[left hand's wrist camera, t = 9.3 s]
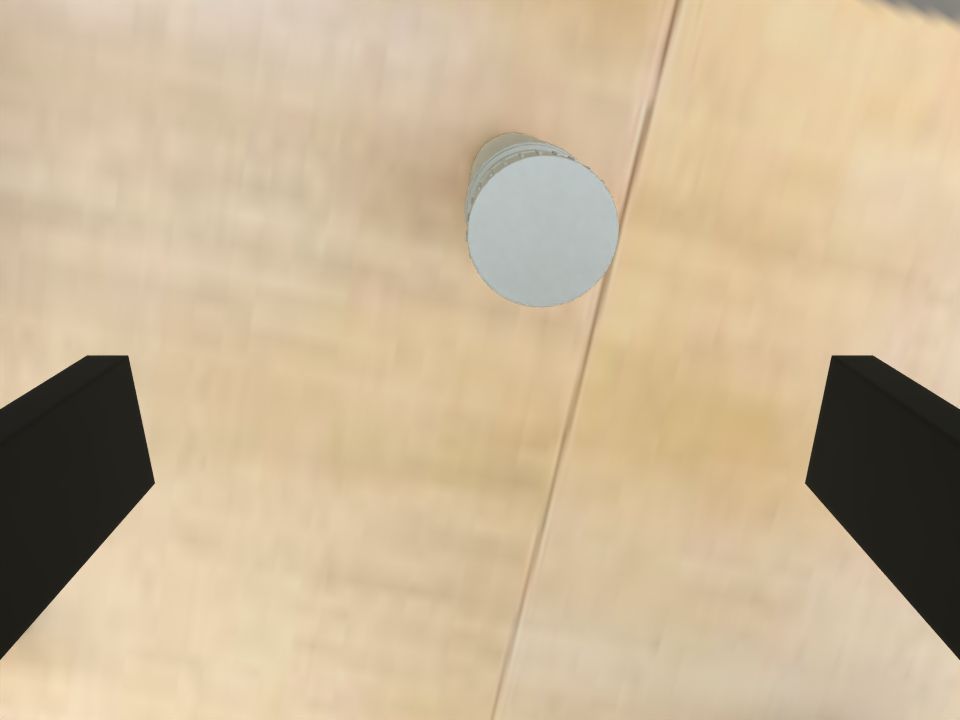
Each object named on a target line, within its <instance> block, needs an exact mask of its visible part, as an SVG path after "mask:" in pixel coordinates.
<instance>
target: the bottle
mask: <svg viewBox="0 0 960 720" xmlns="http://www.w3.org/2000/svg"><path fill="white" fill-rule="evenodd" d="M535 150H539V151H541V152H550V153H552V151H555V152H557V153H560V155H562V156H565V157H568V156H570V157H572V158H574V157H573V156H572V155H570V154H569V153H568V152H566V151H565V150H563V149H561V148H559V147H557V146H554V145H552V144H549V143H546V142H544V141H541V140H538V139H536V138H533V137H530V136H528V135H525V134H520V133H507V134H503V135H499V136H497V137H495V138H493V139H491V140H490V141H489V142H487V143H486V144H485V145H484V146H483V147H482V148H481V149H480V151H479V152H478V154H477V156H476V157H475V160H474V162H473V166H472V170H471V175H470V180H469V185H468V191H467V196H466V202H465V216H466V219H467V214H469V213H470V207H471V206H470V201H471V197H472V198H474V195H475V193H476V191H477V189H478V184H479V182H480V183H481V182H482V181H483V180H484V179H485V177H486V176H487V175H488V174H489V170H490V169H491V170H493V169H494V168H495V167H497V166H498V165H499V164H501V163H502V162H503V161H502V160H504V159H505V160H508V159H510V158H512V157H514V156H517V155H518V153H520V152H521V153H522V154H524V153H529V152H535ZM577 162H578V161H577ZM578 163H579V162H578ZM467 227H468V224H467Z"/></svg>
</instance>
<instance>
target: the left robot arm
mask: <svg viewBox="0 0 960 720" xmlns="http://www.w3.org/2000/svg"><path fill="white" fill-rule="evenodd" d="M154 484H155V481H154V477H153V472H152V467H151V462H150V457H149V453H148V448H147V443H146V438H145V433H144V429H143V424H142V419H141V414H140V410H139V405H138V400H137V395H136V390H135V386H134V381H133V376H132V371H131V367H130V362H129V357H128V356H86V357H84V358H82V359H81V360H79V361H77V362H76V363H74V364H73V365H71V366H69V367H68V368H66V369H65V370H63V371H61V372H60V373H58V374H56V375H55V376H53V377H52V378H50V379H48V380H47V381H45V382H44V383H42V384H40V385H39V386H37V387H35V388H34V389H32V390H31V391H29V392H27V393H26V394H24V395H23V396H21V397H19V398H18V399H16V400H15V401H13V402H11V403H10V404H8V405H6V406H5V407H3V408H2V409H0V660H1V659H2V657H3V656H4V655H5V654H6V653H7V652H8V651H9V649H10V648H11V647H12V646H13V645H14V644H15V643H16V641H17V640H18V639H19V638H20V637H21V636H22V635H23V633H24V632H25V631H26V630H27V629H28V628H29V627H30V625H31V624H32V623H33V622H34V621H35V620H36V619H37V617H38V616H39V615H40V614H41V613H42V612H43V611H44V609H45V608H46V607H47V606H48V605H49V604H50V603H51V601H52V600H53V599H54V598H55V597H56V596H57V595H58V593H59V592H60V591H61V590H62V589H63V588H64V587H65V585H66V584H67V583H68V582H69V581H70V580H71V579H72V577H73V576H74V575H75V574H76V573H77V572H78V571H79V569H80V568H81V567H82V566H83V565H84V564H85V563H86V561H87V560H88V559H89V558H90V557H91V556H92V555H93V553H94V552H95V551H96V550H97V549H98V548H99V547H100V545H101V544H102V543H103V542H104V541H105V540H106V539H107V537H108V536H109V535H110V534H111V533H112V532H113V531H114V529H115V528H116V527H117V526H118V525H119V524H120V523H121V521H122V520H123V519H124V518H125V517H126V516H127V515H128V514H129V512H130V511H131V510H132V509H133V508H134V507H135V506H136V504H137V503H138V502H139V501H140V500H141V499H142V498H143V496H144V495H145V494H146V493H147V492H148V491H149V490H150V488H151V487H152V486H153V485H154ZM805 484H806V485H807V486H808V487H809V488H810V490H811V491H812V492H813V493H814V494H815V495H816V496H817V498H818V499H819V500H820V501H821V502H822V503H823V504H824V506H825V507H826V508H827V509H828V510H829V511H830V512H831V514H832V515H833V516H834V517H835V518H836V519H837V520H838V521H839V523H840V524H841V525H842V526H843V527H844V528H845V529H846V531H847V532H848V533H849V534H850V535H851V536H852V537H853V539H854V540H855V541H856V542H857V543H858V544H859V545H860V547H861V548H862V549H863V550H864V551H865V552H866V553H867V555H868V556H869V557H870V558H871V559H872V560H873V561H874V563H875V564H876V565H877V566H878V567H879V568H880V569H881V571H882V572H883V573H884V574H885V575H886V576H887V577H888V579H889V580H890V581H891V582H892V583H893V584H894V585H895V587H896V588H897V589H898V590H899V591H900V592H901V593H902V595H903V596H904V597H905V598H906V599H907V600H908V601H909V603H910V604H911V605H912V606H913V607H914V608H915V609H916V611H917V612H918V613H919V614H920V615H921V616H922V617H923V619H924V620H925V621H926V622H927V623H928V624H929V625H930V627H931V628H932V629H933V630H934V631H935V632H936V633H937V635H938V636H939V637H940V638H941V639H942V640H943V641H944V643H945V644H946V645H947V646H948V647H949V648H950V649H951V651H952V652H953V653H954V654H955V655H956V656H957V657H958V659H959V660H960V409H958V408H957V407H955V406H954V405H952V404H950V403H949V402H947V401H945V400H944V399H942V398H941V397H939V396H937V395H936V394H934V393H933V392H931V391H929V390H928V389H926V388H925V387H923V386H921V385H920V384H918V383H916V382H915V381H913V380H912V379H910V378H908V377H907V376H905V375H904V374H902V373H900V372H899V371H897V370H895V369H894V368H892V367H891V366H889V365H887V364H886V363H884V362H883V361H881V360H879V359H878V358H876V357H874V356H832V357H831V362H830V367H829V371H828V376H827V381H826V386H825V390H824V395H823V400H822V405H821V410H820V414H819V419H818V424H817V429H816V433H815V438H814V443H813V448H812V453H811V457H810V462H809V467H808V472H807V477H806V481H805Z"/></svg>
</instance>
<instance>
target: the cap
mask: <svg viewBox="0 0 960 720" xmlns="http://www.w3.org/2000/svg"><path fill="white" fill-rule="evenodd" d="M502 161H503V162H502V163H501V164H499V165H498V166H497V167H495V168H494V169H493V170H491V169H490V170H489V174H488V175H487V176H486V177H485V179H484V180H483V181H482V182H481V183H480V182H479V184H478V189H477V191H476V193H475V195H474V198H472V197H471V201H470V206H471V207H470V213H469V214H467V219H466V224H468V230H467V235H466V241H468V247H469V251H470V258H472V261H473V263H474V266H475V268H476V269H477V272H478V273H479V275H480V276H481V277H482V279H483V280H484V281H485V282H486V283H487V285H488V286H489V287H490V288H491V289H493V290H494V291H495V292H496V293H498V294H499V295H501V296H502V297H504V298H506V299H508V300H510V301H512V302H514V303H518V304H521V305H525V306H531V307H550V306H556V305H560V304H564V303H566V302H569V301H572V300H574V299H576V298H578V297H580V296H581V295H583V294H584V293H586V292H587V291H588V290H589V289H591V288H592V287H593V286H594V285H595V284H596V283H597V282H598V281H599V280H600V279H601V277H602V276H603V275H604V273H605V272H606V270H607V269H608V267H609V265H610V263H611V261H612V259H613V256H614V253H615V250H616V246H617V242H618V233H619V225H618V216H617V211H616V207H615V204H614V201H613V198H612V196H611V195H610V193H609V191H608V189H607V188H606V186H605V185H604V182H603V181H602V180H600V179H599V178H598V177H597V176H596V175H595V174H594V173H593V172H592V169H591V168H589V167H587V166H585V165H582V164H580V163H578V162H577V159H575V158H572V157H570V156H568V157H565V156H562V155H560V153H557V152H555V151H552V153H550V152H541V151H539V150H535V152H529V153H524V154H522V153H521V152H520V153H518V155H517V156H514V157H512V158H510V159H508V160H505V159H504V160H502Z"/></svg>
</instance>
